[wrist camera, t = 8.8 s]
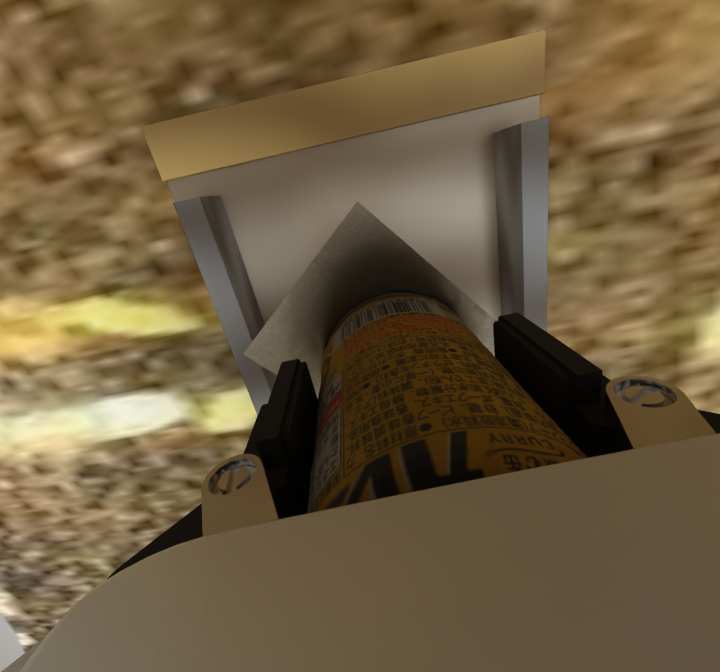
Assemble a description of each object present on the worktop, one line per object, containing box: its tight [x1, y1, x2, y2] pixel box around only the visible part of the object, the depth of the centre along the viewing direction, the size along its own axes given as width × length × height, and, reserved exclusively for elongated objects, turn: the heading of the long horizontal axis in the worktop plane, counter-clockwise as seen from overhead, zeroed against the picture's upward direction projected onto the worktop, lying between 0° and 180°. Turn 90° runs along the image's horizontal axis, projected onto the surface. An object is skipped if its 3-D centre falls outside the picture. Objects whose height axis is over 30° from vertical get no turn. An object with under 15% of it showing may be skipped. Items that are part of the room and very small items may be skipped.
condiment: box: [244, 201, 588, 513], centre depth 9 cm, size 7×8×12 cm
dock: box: [141, 30, 549, 415], centre depth 17 cm, size 18×16×7 cm
